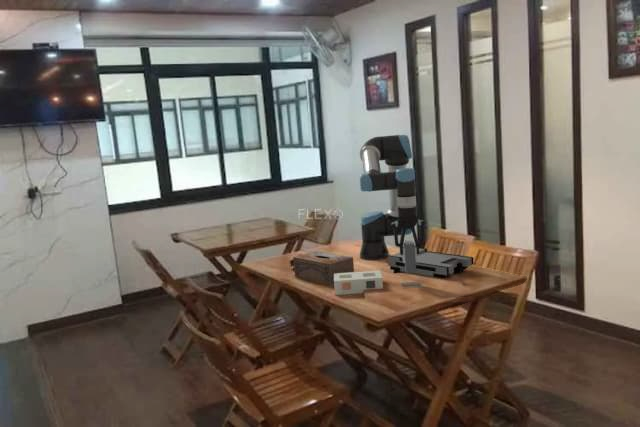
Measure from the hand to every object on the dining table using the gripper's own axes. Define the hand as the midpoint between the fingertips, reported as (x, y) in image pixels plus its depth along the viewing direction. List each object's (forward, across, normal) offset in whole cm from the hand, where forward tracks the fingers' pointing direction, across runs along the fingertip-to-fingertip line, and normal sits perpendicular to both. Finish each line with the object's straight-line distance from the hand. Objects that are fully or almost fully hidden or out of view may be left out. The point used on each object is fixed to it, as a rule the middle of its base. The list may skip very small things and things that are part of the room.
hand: (410, 261), depth 230 cm
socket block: (+11, -22, +3) cm, 25 cm away
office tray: (+12, +12, +22) cm, 28 cm away
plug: (+4, 0, 0) cm, 4 cm away
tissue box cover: (+12, -37, +26) cm, 47 cm away
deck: (+11, 0, -1) cm, 11 cm away
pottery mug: (+12, -48, +47) cm, 69 cm away
